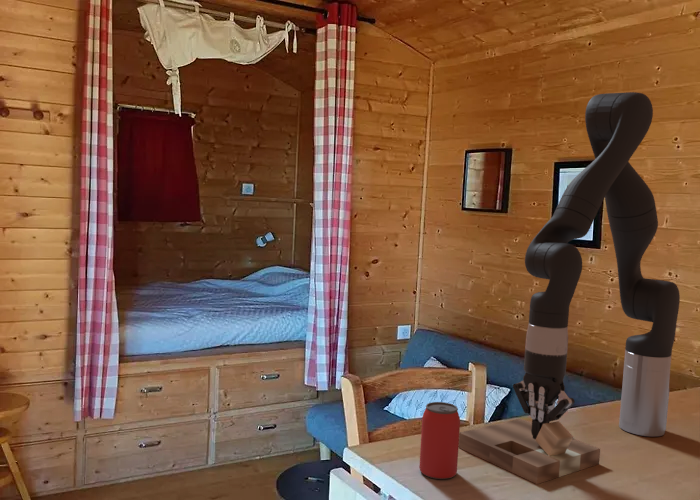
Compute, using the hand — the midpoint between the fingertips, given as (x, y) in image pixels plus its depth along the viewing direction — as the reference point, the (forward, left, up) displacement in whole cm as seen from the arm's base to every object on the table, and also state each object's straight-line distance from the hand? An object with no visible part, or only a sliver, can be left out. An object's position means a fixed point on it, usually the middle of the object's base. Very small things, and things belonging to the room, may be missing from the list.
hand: (539, 439), depth 125 cm
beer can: (+21, -5, -4) cm, 22 cm away
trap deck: (0, -3, -4) cm, 5 cm away
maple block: (+1, +3, 0) cm, 3 cm away
